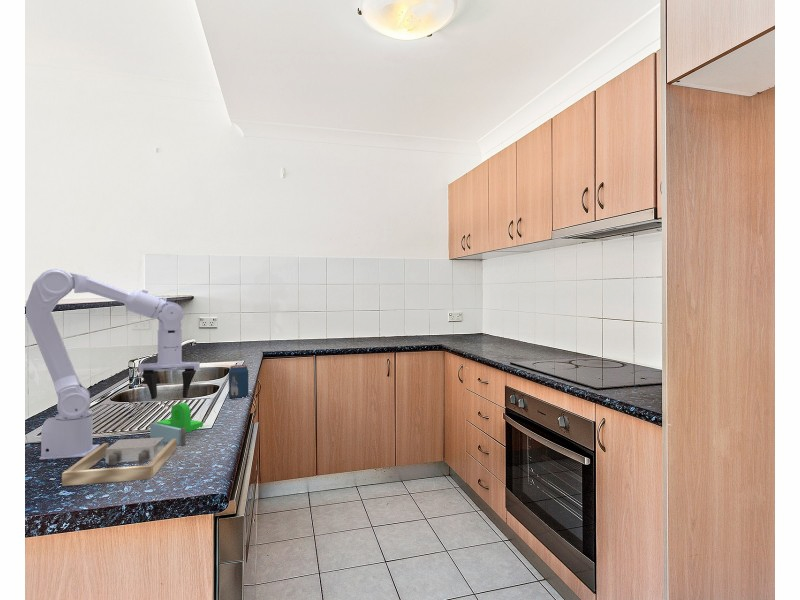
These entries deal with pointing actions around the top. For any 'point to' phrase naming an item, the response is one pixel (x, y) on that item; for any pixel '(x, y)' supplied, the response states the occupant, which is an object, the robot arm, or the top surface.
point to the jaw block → (134, 449)
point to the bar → (165, 432)
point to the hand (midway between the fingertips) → (169, 397)
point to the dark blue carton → (238, 381)
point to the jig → (84, 476)
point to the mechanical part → (181, 418)
